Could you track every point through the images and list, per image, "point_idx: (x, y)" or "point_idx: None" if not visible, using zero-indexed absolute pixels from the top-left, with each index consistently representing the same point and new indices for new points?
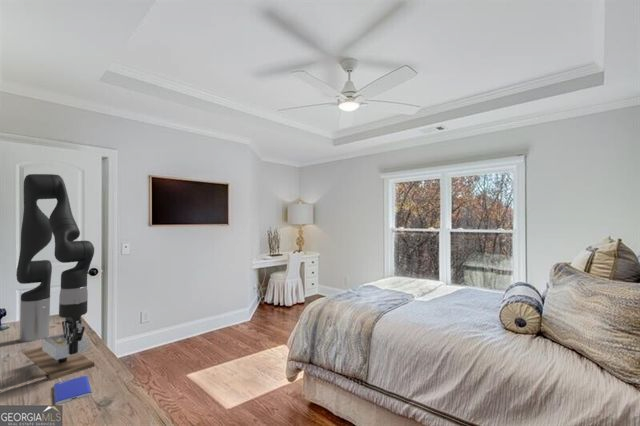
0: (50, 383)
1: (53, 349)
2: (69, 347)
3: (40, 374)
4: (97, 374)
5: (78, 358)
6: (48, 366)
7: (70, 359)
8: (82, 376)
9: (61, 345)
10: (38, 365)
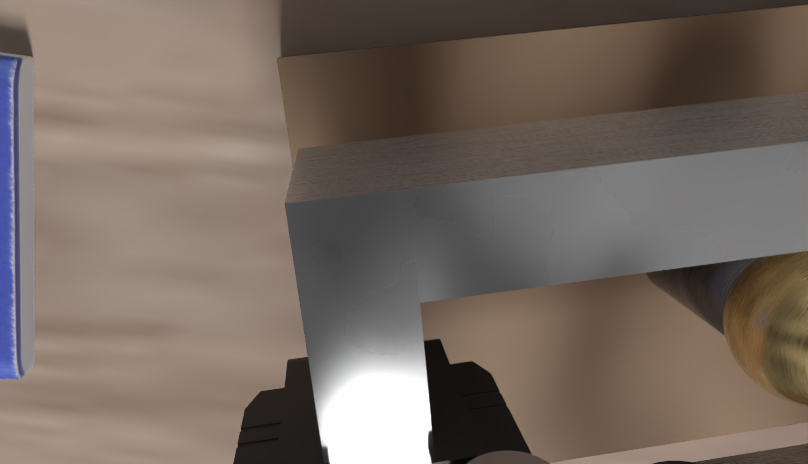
0: (182, 43)
1: (489, 157)
2: (302, 422)
3: (573, 4)
4: (71, 456)
5: (625, 392)
6: (659, 99)
7: (672, 324)
8: (9, 339)
9: (365, 321)
10: (799, 12)
